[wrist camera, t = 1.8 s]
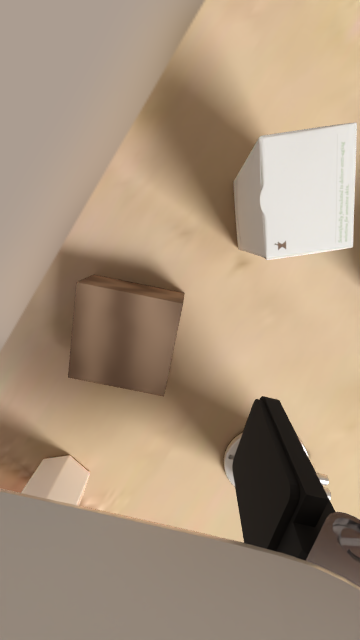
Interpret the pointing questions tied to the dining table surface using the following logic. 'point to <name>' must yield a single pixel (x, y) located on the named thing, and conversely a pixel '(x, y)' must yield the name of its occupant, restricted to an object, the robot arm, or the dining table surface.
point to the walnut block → (124, 334)
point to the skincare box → (297, 193)
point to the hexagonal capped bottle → (58, 480)
